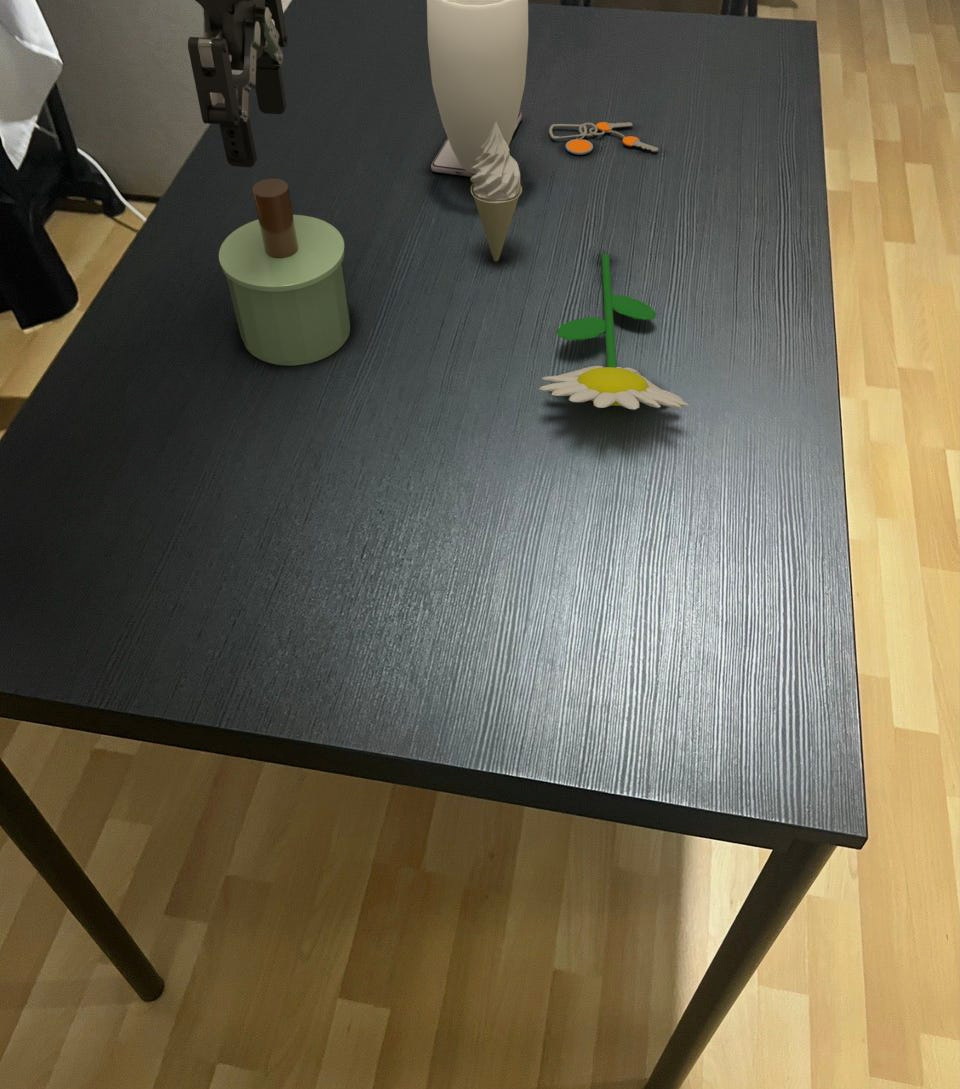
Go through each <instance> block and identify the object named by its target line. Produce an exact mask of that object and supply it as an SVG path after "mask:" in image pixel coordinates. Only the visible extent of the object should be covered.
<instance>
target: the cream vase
mask: <svg viewBox="0 0 960 1089" xmlns="http://www.w3.org/2000/svg"><path fill="white" fill-rule="evenodd" d="M426 20H427V22H426V23H427V26H426V27H427V48H428V58H429V65H430V76H431V85H432V90H433V93H434V97H435V98H434V99H435V101H436V105H437V109H438V113H439V117H440V120H441V125H442V126H443V129H444V133H445V135H446V137H447V138H448V140H449V142H450V145H451V147H452V149H453V151H454V153H455V155H456V157H457V159H458V161H459V163H460V165H461V167H462V168H463V169H465V170H466V171H469V172H472V173H476V172H475V171H474V170H472V169H471V167H473V166H475V165H477V164H479V161H477V160H476V159H477V158H478V157H480V156H481V154H482V153H483V152H484V150H483V149H482V148H481V147H482V146H483V145H484V143H485V142H486V141H487V140H488V137H489V134H490V132H491V129H492V127H493V125H494V121H495V120H496V121H497V124H498V127H499V129H500V131H501V133H502V136H503V138H504V140H505V142H506V143H507V145H508V147H509V148H510V144H511V141H512V139H513V136H514V134H513V133H515V132H514V130H515V127H516V123H517V119H518V114H519V112H520V109H521V104H522V100H523V97H524V96H523V95H524V91H525V86H526V76H527V65H528V64H527V62H528V50H529V49H528V48H529V47H528V46H529V0H426ZM515 131H516V130H515Z"/></svg>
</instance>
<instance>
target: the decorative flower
mask: <svg viewBox="0 0 960 1089" xmlns="http://www.w3.org/2000/svg"><path fill="white" fill-rule="evenodd" d="M601 274H602V275H601V277H602V292H603V293H602V294H603V296H602V297H603V314H604V315H603V316H604V319H603V318H601V317H581V318H577V319H573V320H570V321H568V322H564V323H563V324H561V325H560V326H559V328H557V330H556V334H557V337H558V338H561V339H564V340H566V341H584V340H588V339H593V338H594V339H595V338H596V337H599V336H600V335H603V334H604V335H605V349H606V350H605V351H606V353H605V354H606V366H603V365H593V366H592V365H591V366H586V367H584V368H580V369H576V370H573V371H569V372H566V373H561V374H558V375H547V376H543V377H541V379H542V380H543V381H544V382H545V381H546V382H550V383H549V384H546V385H542V386H540V387H539V388H538V390H539V391H542V392H551V396H553V397H568V396H569V398H568V401H570V402H572V403H585V402H589V401H592V402H593V406H594V407H596V408H598V409H602V408H608V407H611V406H614V407H615V406H617V407H623V408H625V409H627V410H628V409H629V410H633V411H635V410H637V409H640V403H642V404H645V405H646V406H649V407H652V408H656V409H660V408H661V406H664V407H668V408H674V409H681V408H683V407H684V408H685V407H686V408H687V407H690V405H689V404H688V403H687V402H685V401H684V399H683V398H682V397H681V396H679V395H677V394H675V393H673V392H671V391H668V390H664V389H661V388H660V387H658V385H655V383H652V382H651V381H650V380H649V379H647V378H646V377H645V376H643V375H641V373H640V372H639V371H638V370H637V369H634V368H633V367H622V366H617V356H616V355H617V354H616V353H617V352H616V340H615V339H616V338H615V326H614V325H615V324H614V312H617V313H619V314H620V315H623V316H626V317H629V318H631V319H633V320H641V321H649V320H654V319H655V320H656V317H657V316H656V315H657V312H656V311H655V310H654V309H653V308H652V307H651V306H650V305H648V304H647V303H645V302H643V301H641V300H638V299H635V298H633V297H631V296H627V295H622V294H621V295H620V294H612V292H613V291H612V278H611V264H610V255H609V254H608V253H603V254H602V255H601Z"/></svg>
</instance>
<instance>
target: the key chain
mask: <svg viewBox="0 0 960 1089" xmlns="http://www.w3.org/2000/svg"><path fill="white" fill-rule="evenodd" d="M588 126H589V127H590V128H589V130H588ZM633 126H634V125H633V123H632V122H629V121H626V122H619V121H617V122H616V123H615V122H607V121H599V122H597V123H596V124H595V123H593V122H583V123H582V124H575V123H574V124H573V123H553V124H551V125H550V127H549V129H548V133H549V136H550V138H551V139H553V140H559V139H567V138H573V139H570V140H569V141H567V142H566V143H565V150H566V151H567V153H571V154H573V155H586V154H589V153H591V152H592V151H593V149H594V144H593V143H592V142H591V141H589V140H587V139H584V138H585V137H593V136H599V137H600V136H603V135H604V134H606V133H607V134H609V133H610V134H613V135H617V136H619V137H621V138H622V141H621V142H622V143H623V145H624V146H627V147H636V148H641V149H643V150H647V151H651V152H652V153H653V152H655V153H656V152H658V151H659V149H660V148H659V147H656V146H655V145H651V144H648V143H645V142H642V141H641V140H640V138H639V137H637V136H632V135H628V136H626V135H624V134H623V133H622V132H619V131H616V130H613V129H616V128H627V127H633ZM554 128H578V132H579V134H573V135H572V134H571V135H564V136H559V135H554V134H553V129H554ZM598 131H599V132H598Z"/></svg>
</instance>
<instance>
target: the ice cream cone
mask: <svg viewBox="0 0 960 1089" xmlns="http://www.w3.org/2000/svg"><path fill="white" fill-rule="evenodd" d="M481 148H482V149H483V150H484V152H483V153H482V154H481V156H480V157H478V158H477V159H476V160H477V161H479V164H477V165H475V166H473V167H471V169H472V170H474V171H475V172H476V175H474V176H473V177H470V179H469V180H470V182H471V183H472V184H471V186H470V193H471V195H472V196H473V199H474V202H475V205H476V209H477V212H478V215H479V218H480V221H481V224H482V228H483V231H484V234H485V237H486V240H487V243H488V246H489V249H490V254H491V256H492V259H493V262H498V261H499V260H500V257H501V254H502V251H503V247H504V244H505V242H506V238H507V236H508V232H509V229H510V226H511V223H512V219H513V218H514V214H515V210H516V207H517V205H518V204H517V203H518V201H519V197H520V196H521V195H522V192H523V186H522V185H521V170H520V168H519V163H518V162H517V161H516V159H515V158H514V157H512V156H511V154H510V146H509V147H508V145H507V143H506V142H505V140H504V138H503V136H502V133H501V131H500V129H499V127H498V124H497V121H496V120H495V121H494V125H493V127H492V129H491V132H490V134H489V137H488V140H487V141H486V142H485V143H484V145H483V146H482V147H481Z"/></svg>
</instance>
